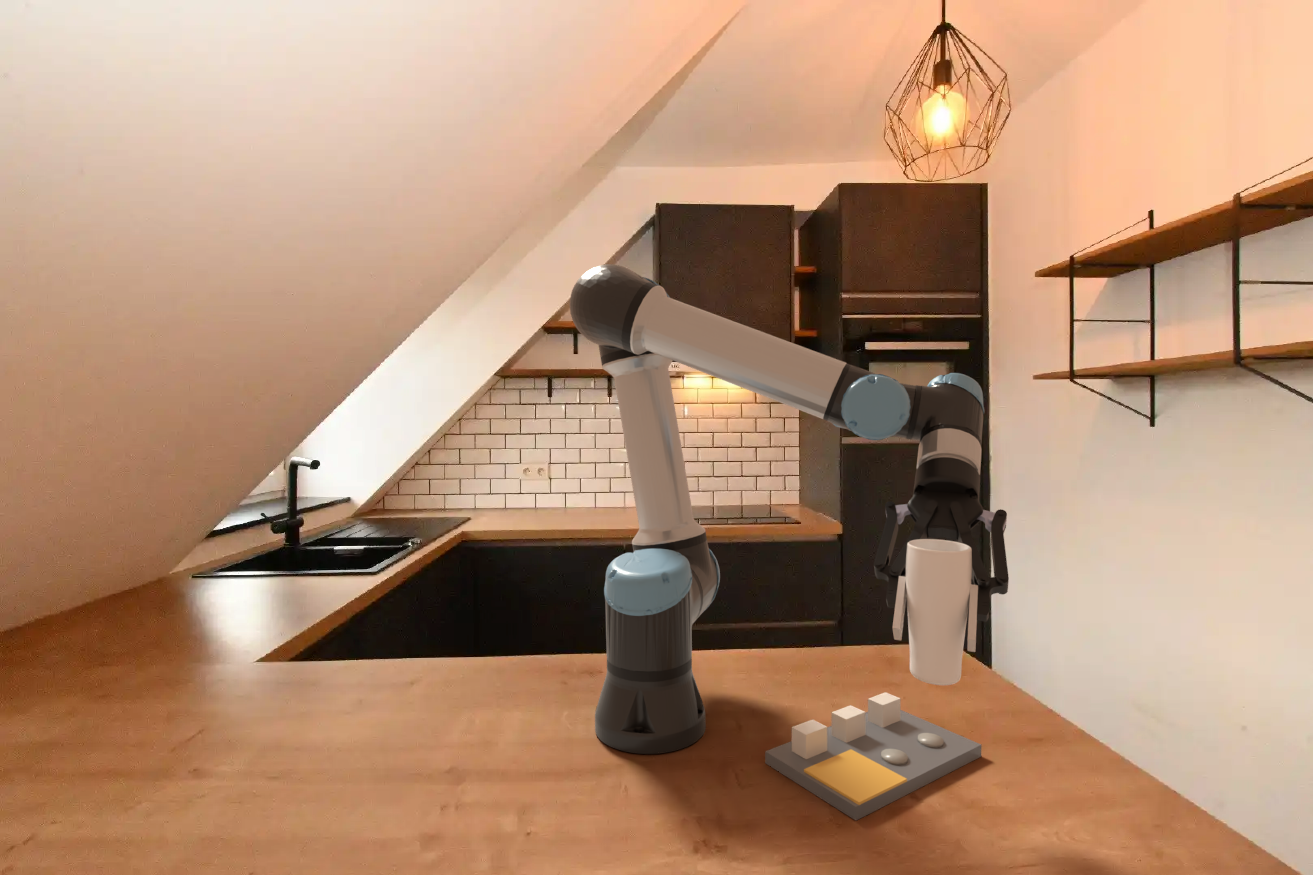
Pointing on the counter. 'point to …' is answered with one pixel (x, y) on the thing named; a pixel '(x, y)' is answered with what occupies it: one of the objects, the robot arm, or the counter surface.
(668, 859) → the counter surface
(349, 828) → the counter surface
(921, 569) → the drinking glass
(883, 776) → the game board
